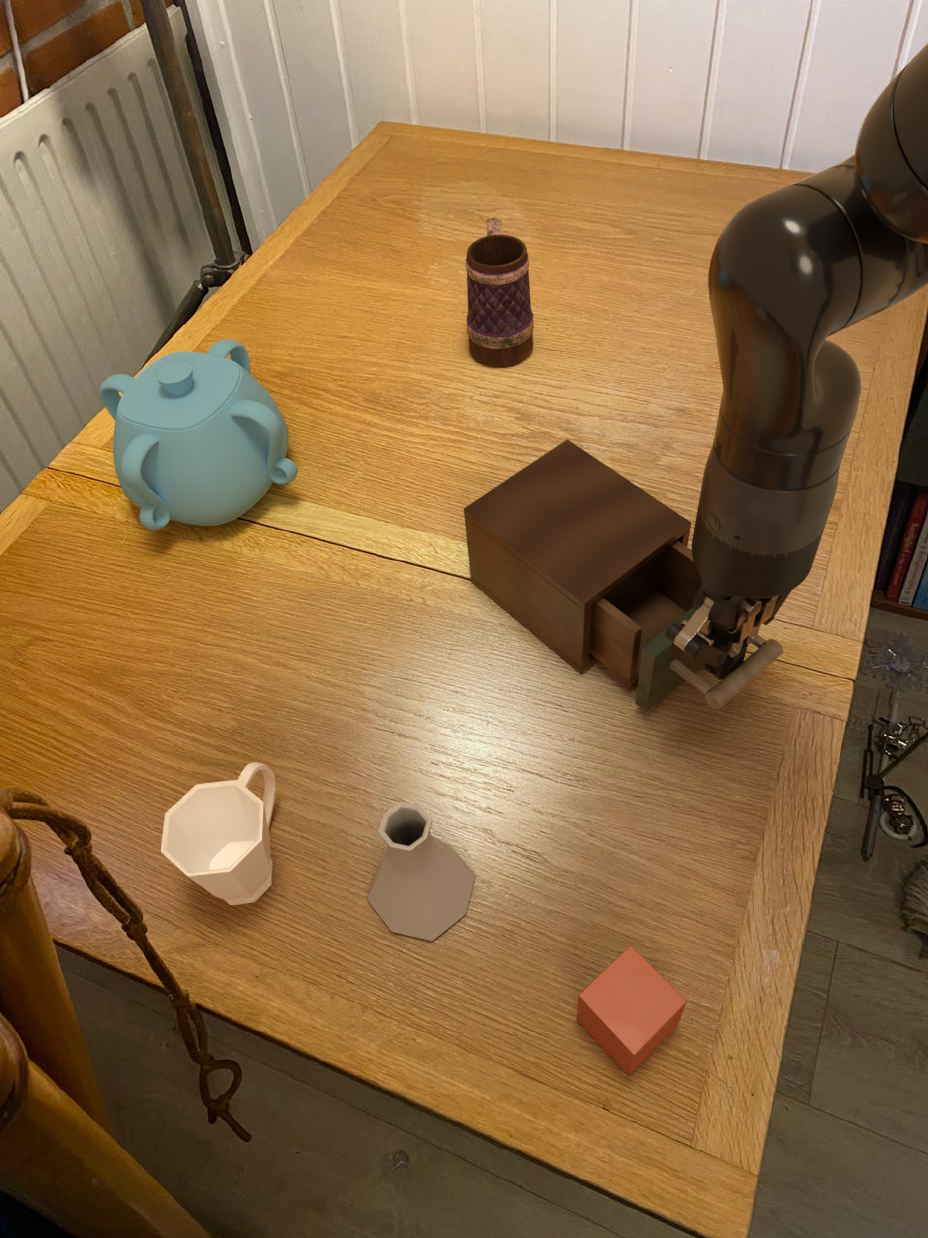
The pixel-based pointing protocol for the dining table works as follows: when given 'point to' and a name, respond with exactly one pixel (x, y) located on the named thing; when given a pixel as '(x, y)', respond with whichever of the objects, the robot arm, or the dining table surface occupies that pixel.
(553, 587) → the cabinet
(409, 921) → the flask
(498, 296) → the mug
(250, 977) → the dining table surface
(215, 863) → the cup
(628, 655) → the drawer
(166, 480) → the decorative pot
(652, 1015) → the block
